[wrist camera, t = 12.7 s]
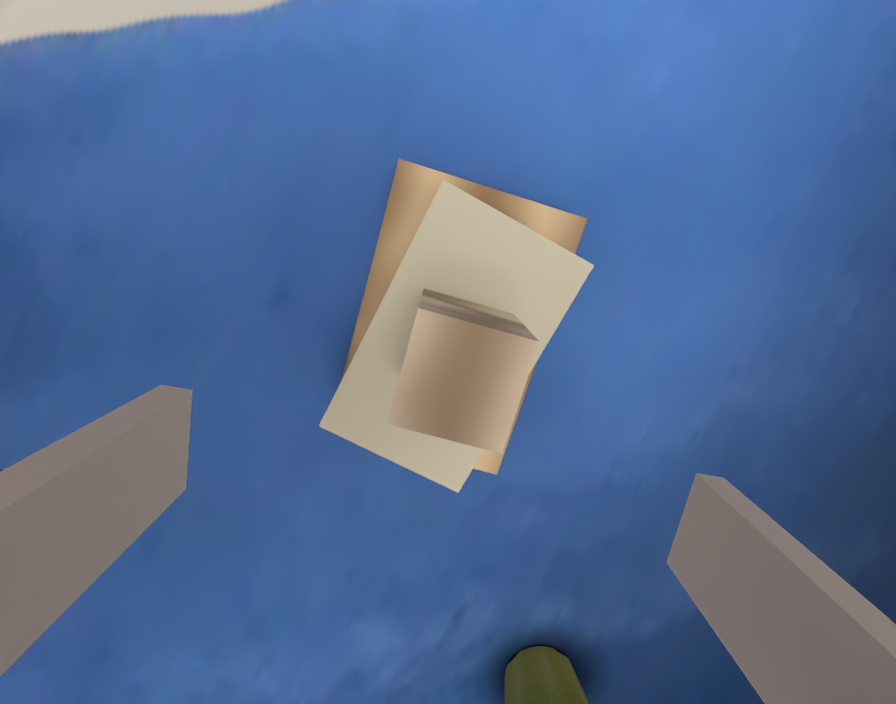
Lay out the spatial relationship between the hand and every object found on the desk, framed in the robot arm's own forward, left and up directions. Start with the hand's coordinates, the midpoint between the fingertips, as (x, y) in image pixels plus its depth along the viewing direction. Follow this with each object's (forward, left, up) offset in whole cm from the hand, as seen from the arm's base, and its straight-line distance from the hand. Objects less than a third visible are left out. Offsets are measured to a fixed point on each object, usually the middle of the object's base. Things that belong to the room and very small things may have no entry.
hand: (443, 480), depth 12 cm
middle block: (0, 0, -19) cm, 19 cm away
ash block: (+1, 0, -14) cm, 14 cm away
